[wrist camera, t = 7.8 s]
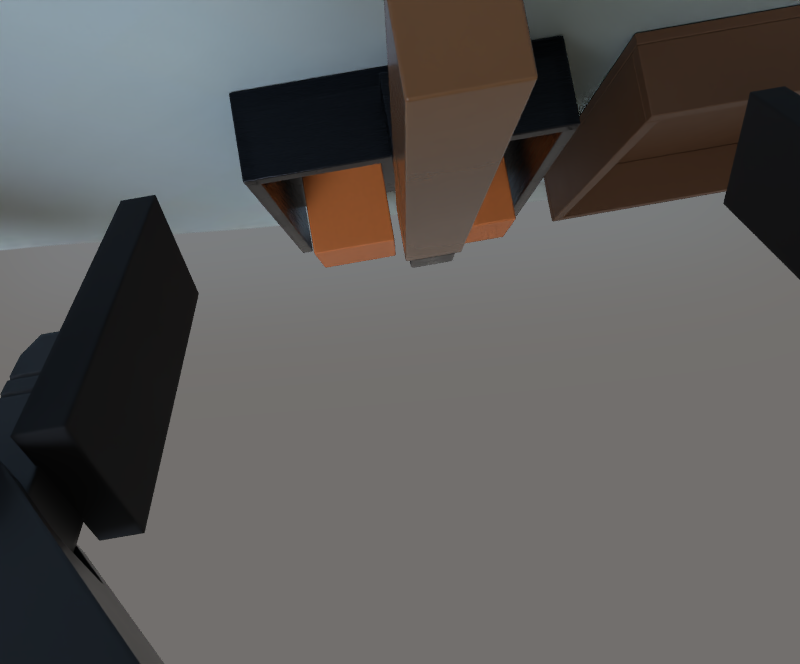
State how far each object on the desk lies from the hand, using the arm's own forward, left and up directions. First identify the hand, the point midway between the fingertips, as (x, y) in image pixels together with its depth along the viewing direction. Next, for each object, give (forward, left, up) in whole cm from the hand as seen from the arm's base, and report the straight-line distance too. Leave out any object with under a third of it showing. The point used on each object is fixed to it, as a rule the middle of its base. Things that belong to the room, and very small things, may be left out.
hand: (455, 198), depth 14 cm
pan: (+1, -9, -8) cm, 12 cm away
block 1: (0, -20, -7) cm, 22 cm away
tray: (+20, -16, -8) cm, 27 cm away
